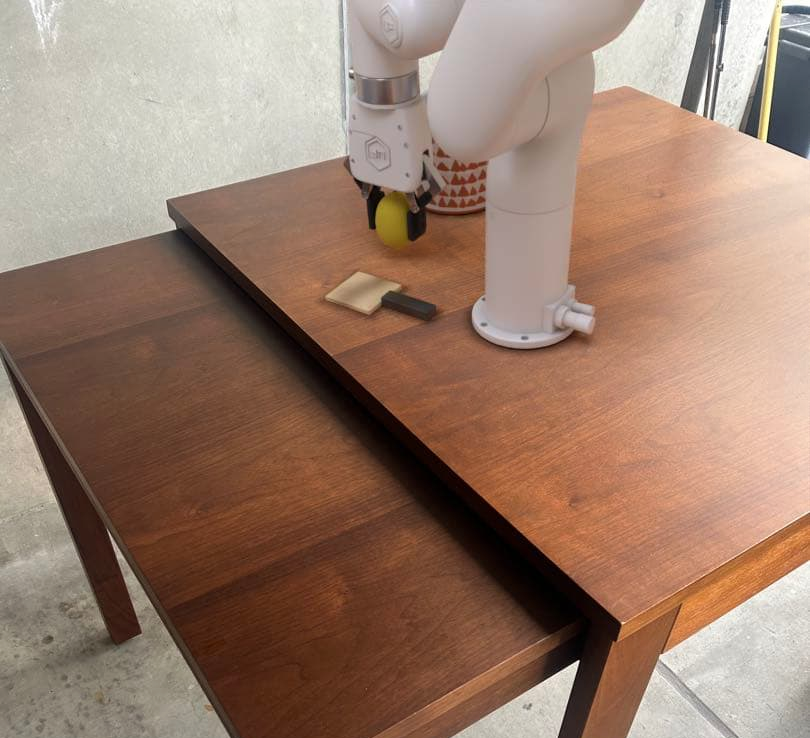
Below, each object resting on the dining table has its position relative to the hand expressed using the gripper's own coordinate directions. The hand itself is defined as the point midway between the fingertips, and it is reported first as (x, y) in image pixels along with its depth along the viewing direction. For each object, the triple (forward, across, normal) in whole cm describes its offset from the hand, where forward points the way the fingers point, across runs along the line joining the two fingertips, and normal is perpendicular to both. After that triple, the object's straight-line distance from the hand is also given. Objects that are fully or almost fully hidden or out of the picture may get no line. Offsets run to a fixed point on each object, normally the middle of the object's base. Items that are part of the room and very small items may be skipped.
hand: (397, 229), depth 113 cm
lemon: (+3, 0, 0) cm, 3 cm away
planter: (+4, -3, +19) cm, 20 cm away
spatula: (+4, +5, -10) cm, 12 cm away
